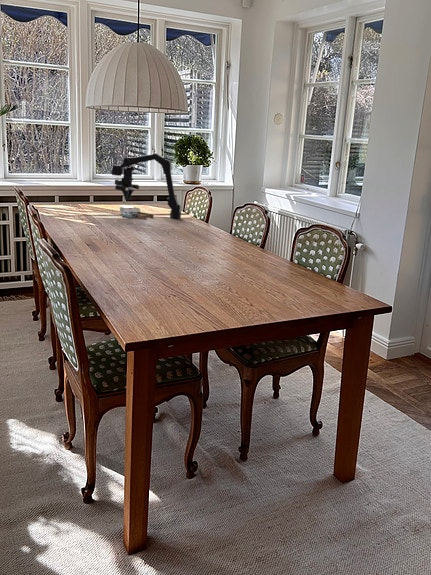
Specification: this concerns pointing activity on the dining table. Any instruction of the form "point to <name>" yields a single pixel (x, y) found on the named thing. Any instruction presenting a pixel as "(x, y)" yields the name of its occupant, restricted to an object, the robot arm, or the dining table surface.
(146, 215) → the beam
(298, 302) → the dining table surface
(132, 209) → the silver metal tumbler
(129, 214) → the v block
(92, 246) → the dining table surface
